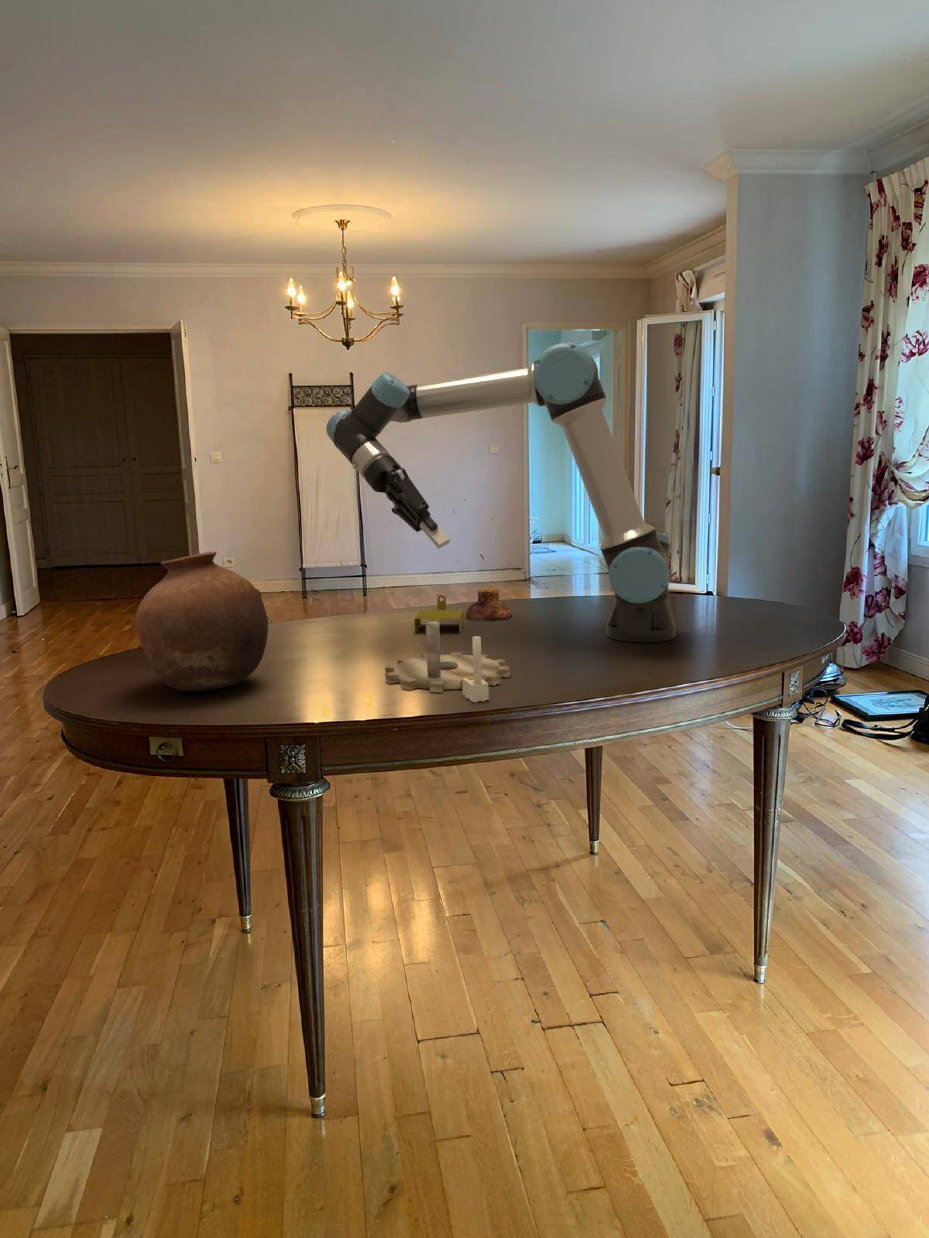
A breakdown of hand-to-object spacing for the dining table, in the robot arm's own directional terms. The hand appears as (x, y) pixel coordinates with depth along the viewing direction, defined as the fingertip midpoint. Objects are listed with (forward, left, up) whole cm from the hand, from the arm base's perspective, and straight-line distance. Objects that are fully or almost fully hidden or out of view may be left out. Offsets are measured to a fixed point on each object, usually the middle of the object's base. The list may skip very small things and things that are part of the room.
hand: (444, 543), depth 176 cm
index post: (-18, +24, -23) cm, 38 cm away
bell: (+10, -42, -24) cm, 49 cm away
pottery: (+31, +36, -24) cm, 53 cm away
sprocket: (-7, +13, -23) cm, 28 cm away
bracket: (+14, -22, -24) cm, 36 cm away
